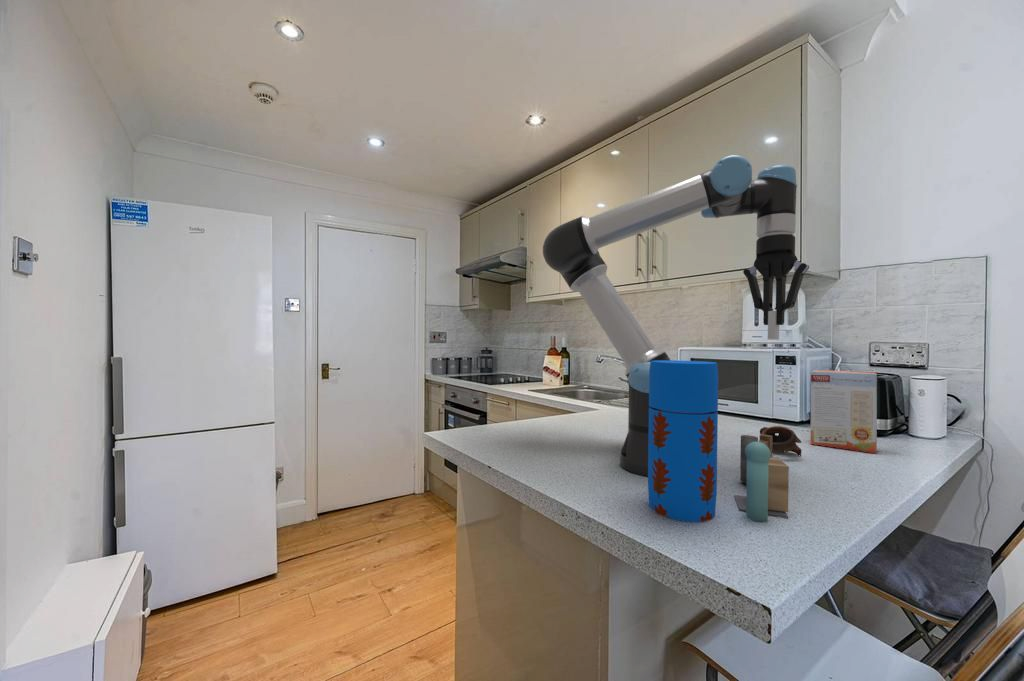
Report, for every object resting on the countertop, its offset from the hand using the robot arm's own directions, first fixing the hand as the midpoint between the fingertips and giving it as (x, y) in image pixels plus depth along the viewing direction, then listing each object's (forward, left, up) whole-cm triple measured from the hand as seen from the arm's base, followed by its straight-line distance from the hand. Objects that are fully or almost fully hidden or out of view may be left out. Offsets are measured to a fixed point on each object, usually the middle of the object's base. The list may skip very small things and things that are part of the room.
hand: (773, 339), depth 94 cm
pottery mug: (-2, +13, -30) cm, 32 cm away
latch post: (+6, -34, -29) cm, 45 cm away
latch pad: (+5, -28, -29) cm, 41 cm away
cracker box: (+8, +35, -29) cm, 46 cm away
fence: (0, -10, -29) cm, 31 cm away
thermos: (-4, -39, -29) cm, 49 cm away
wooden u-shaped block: (+3, -23, -29) cm, 37 cm away
